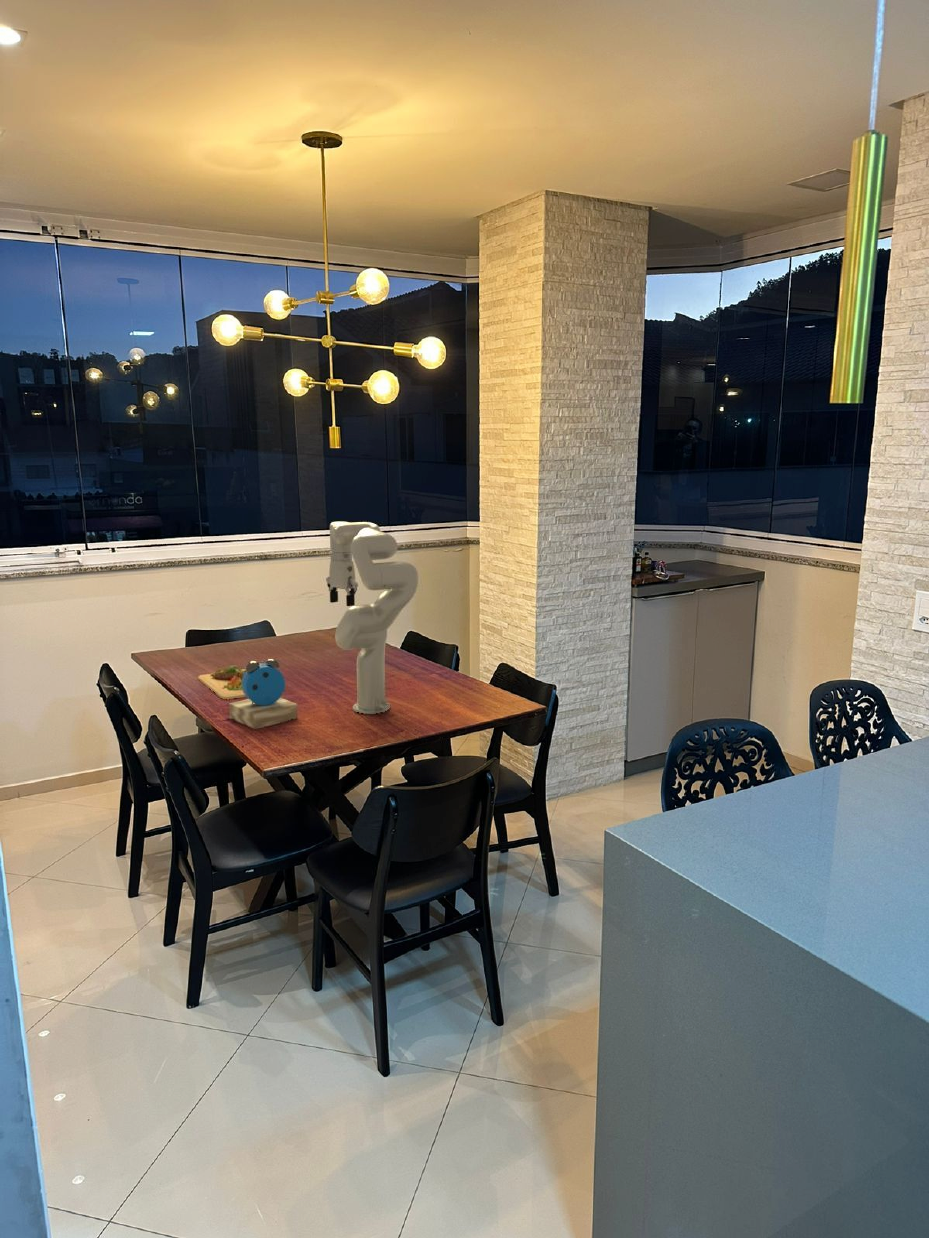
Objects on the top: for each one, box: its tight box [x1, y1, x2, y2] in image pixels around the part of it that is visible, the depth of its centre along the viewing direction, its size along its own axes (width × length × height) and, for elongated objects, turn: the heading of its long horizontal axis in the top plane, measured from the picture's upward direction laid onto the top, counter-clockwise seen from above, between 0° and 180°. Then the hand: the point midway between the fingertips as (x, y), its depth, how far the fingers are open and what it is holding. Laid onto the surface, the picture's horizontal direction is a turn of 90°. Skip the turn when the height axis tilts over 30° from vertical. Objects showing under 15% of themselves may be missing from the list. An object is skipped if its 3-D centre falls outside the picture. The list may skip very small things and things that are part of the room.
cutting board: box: [197, 665, 247, 701], centre depth 323 cm, size 35×23×8 cm
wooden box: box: [228, 697, 299, 730], centre depth 283 cm, size 16×16×5 cm
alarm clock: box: [241, 658, 286, 706], centre depth 281 cm, size 13×6×15 cm, turn 121°
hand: (342, 604), depth 306 cm, fingers open, 9 cm apart
